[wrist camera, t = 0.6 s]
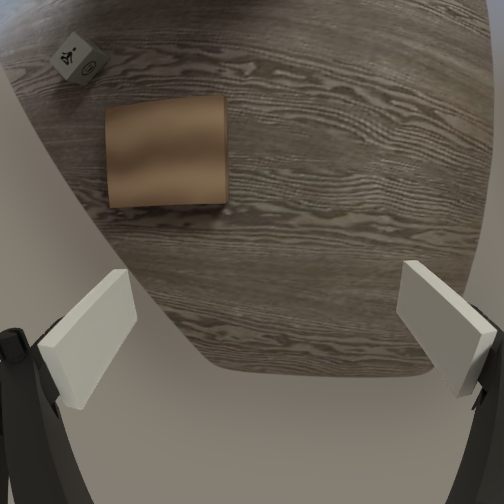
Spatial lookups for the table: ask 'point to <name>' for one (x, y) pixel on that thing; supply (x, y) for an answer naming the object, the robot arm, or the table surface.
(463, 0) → the table surface
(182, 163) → the brown flat block
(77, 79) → the dice cube
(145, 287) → the table surface
